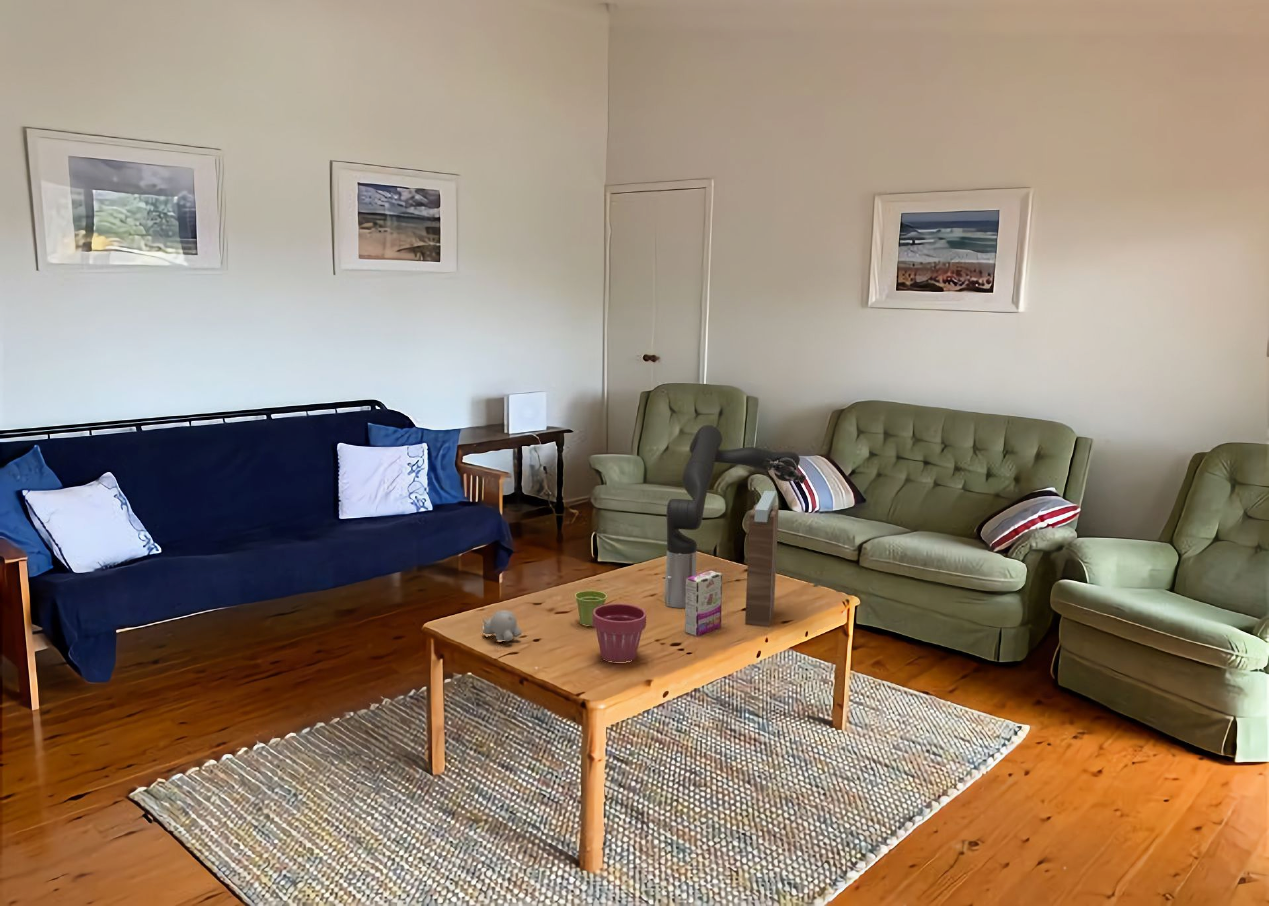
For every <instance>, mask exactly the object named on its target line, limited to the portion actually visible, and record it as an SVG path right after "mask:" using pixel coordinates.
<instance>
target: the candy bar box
mask: <svg viewBox="0 0 1269 906" xmlns="http://www.w3.org/2000/svg"><path fill="white" fill-rule="evenodd" d="M722 587H723V573H721V572H717V571H714V570H706V571H704V572H701V573H697V574H696V575H695V576H692V577H689V578H686V593H685V602H686V603H685V608H684V609H685V610H684V611H685V612H684V613H685V615H684V619H685V620H684V632H685V633H686V634H688V635H691V634H692V635H691V636H695V637H699V636H702V635H704V634H707V633H710V632H712V631H714V630H717V629H719V628H721V627H722V597H723V596H722V593H723V588H722Z"/></svg>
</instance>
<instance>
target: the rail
mask: <svg viewBox="0 0 1269 906" xmlns="http://www.w3.org/2000/svg"><path fill="white" fill-rule="evenodd" d="M776 503H777V491H774V490H764V492H763V494H762V496H761V498H760V499H759V501H758V503H757V504H758V505H757V506H756V508H755V519H754V521H757V522H767V520H768V518H769V516H770V514H771V512H772V510H773V508H774V505H775V506H776Z"/></svg>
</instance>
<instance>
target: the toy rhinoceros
mask: <svg viewBox="0 0 1269 906" xmlns="http://www.w3.org/2000/svg"><path fill="white" fill-rule="evenodd" d="M482 621H483V623H484V624H483V625H482V626H481V627H482V634H483V633H485V634H492V635H494V634H495V640H496V639H497V640H505V642H509V641H512V640H513V639H514V638H518V637H520V636H522V630H521V628H520V627H519V626H518V624H517V618H516V616H515V614H514V613H513V612H511V611H510V610H506V609H503V610H502V609H501V610H498V611H496V612H495V613H494V614H493V615H492V616H490V617H489V619H487V620H486V619H482Z"/></svg>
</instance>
